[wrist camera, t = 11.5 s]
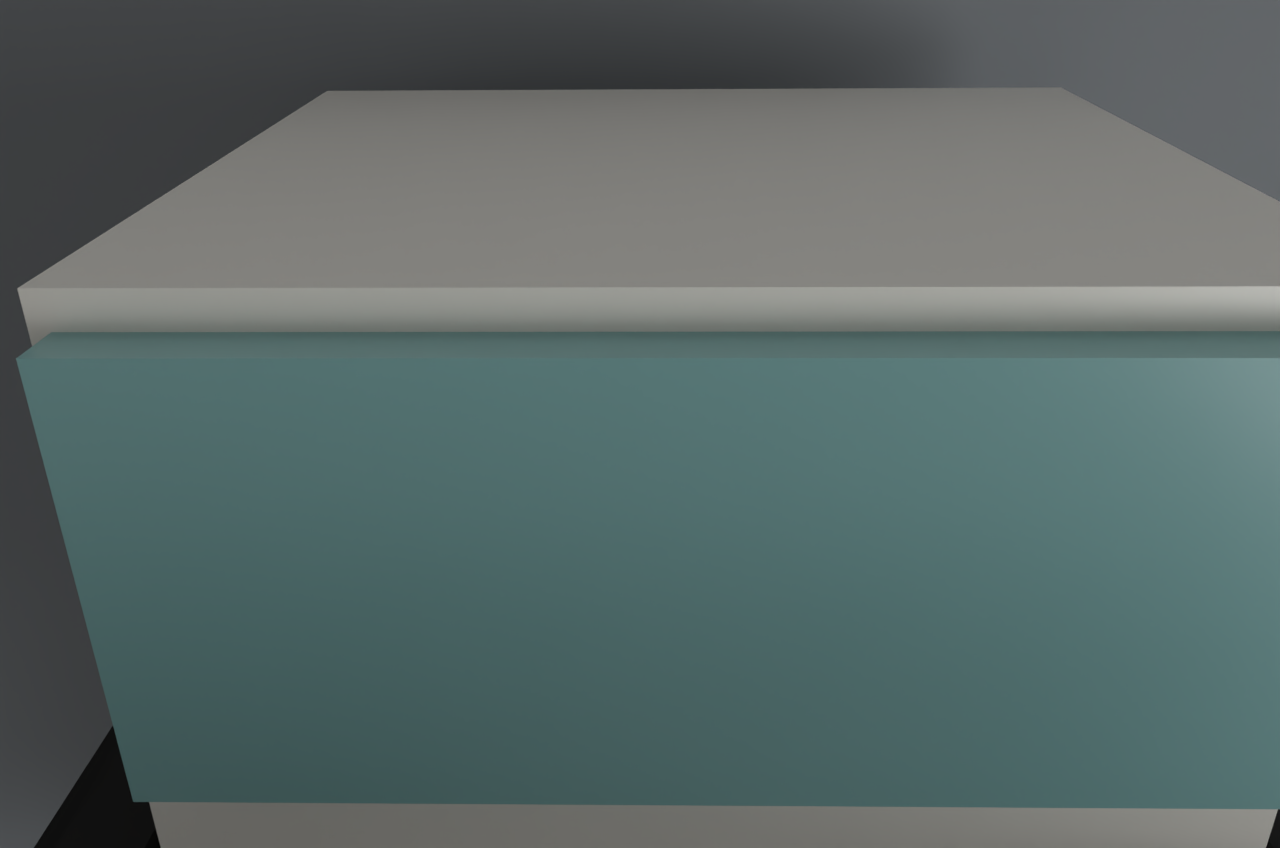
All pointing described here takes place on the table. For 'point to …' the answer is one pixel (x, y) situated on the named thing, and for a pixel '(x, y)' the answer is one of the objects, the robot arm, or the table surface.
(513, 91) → the card deck
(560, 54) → the mat
